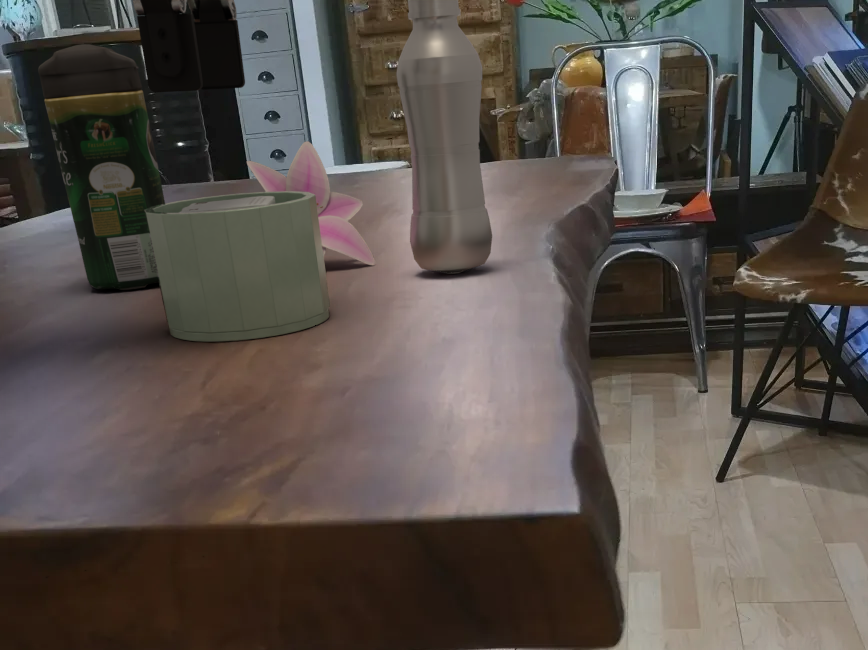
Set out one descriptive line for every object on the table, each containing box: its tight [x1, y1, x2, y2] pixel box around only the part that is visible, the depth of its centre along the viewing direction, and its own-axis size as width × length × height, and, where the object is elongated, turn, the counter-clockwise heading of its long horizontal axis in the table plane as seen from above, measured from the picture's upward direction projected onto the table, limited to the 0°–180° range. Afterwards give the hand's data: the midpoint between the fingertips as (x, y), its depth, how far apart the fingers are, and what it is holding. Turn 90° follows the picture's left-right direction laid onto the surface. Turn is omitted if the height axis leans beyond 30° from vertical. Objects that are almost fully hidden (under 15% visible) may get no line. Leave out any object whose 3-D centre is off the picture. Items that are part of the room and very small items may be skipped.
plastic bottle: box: [396, 0, 493, 275], centre depth 86 cm, size 6×7×20 cm
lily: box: [246, 141, 376, 266], centre depth 96 cm, size 12×12×10 cm
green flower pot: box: [144, 191, 331, 343], centre depth 76 cm, size 11×11×8 cm
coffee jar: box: [37, 43, 166, 291], centre depth 93 cm, size 10×8×19 cm
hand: (200, 89), depth 70 cm, fingers open, 9 cm apart
